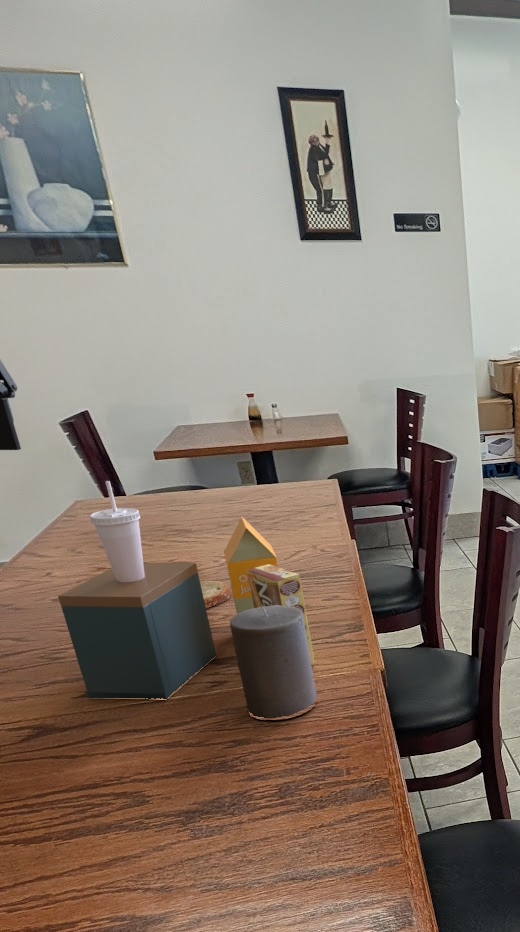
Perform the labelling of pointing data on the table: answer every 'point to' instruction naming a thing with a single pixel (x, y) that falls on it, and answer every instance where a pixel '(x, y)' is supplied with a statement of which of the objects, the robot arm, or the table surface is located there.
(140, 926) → the table surface
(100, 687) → the lidded gift box
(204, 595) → the slice of bread
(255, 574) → the candy box
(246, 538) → the orange juice
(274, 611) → the pillar candle
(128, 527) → the smoothie
